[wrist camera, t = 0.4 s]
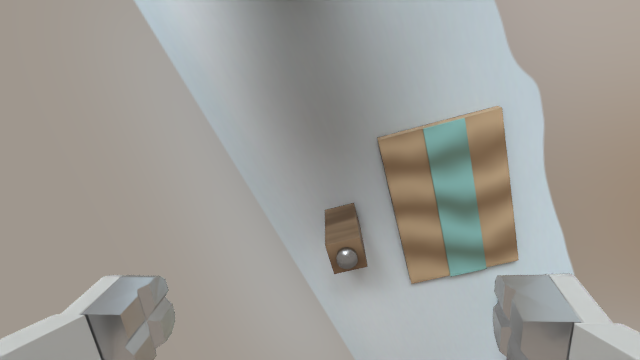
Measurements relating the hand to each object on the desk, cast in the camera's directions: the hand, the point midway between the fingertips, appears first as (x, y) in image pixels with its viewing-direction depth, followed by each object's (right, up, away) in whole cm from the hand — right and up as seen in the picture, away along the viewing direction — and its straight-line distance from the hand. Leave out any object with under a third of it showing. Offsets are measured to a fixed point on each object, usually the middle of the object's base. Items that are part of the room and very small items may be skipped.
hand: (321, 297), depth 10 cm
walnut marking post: (+3, -3, +44) cm, 44 cm away
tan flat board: (+17, 0, +42) cm, 46 cm away
